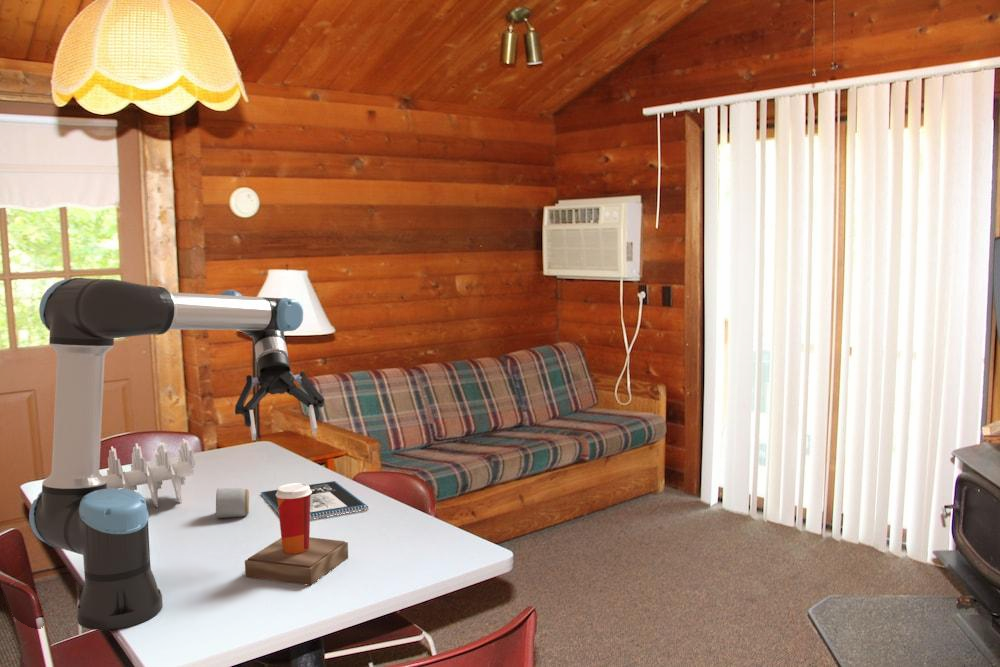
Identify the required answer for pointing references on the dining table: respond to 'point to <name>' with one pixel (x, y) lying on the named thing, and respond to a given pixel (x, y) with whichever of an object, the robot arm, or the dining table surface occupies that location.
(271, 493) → the sketchbook
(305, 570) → the walnut plinth
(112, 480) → the white spiked piece
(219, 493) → the grey cylinder
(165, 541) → the dining table surface
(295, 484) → the paper cup
